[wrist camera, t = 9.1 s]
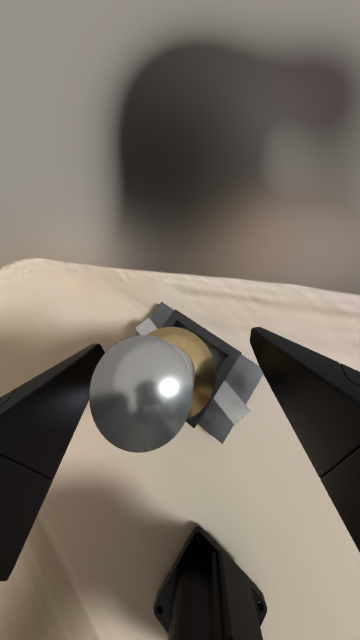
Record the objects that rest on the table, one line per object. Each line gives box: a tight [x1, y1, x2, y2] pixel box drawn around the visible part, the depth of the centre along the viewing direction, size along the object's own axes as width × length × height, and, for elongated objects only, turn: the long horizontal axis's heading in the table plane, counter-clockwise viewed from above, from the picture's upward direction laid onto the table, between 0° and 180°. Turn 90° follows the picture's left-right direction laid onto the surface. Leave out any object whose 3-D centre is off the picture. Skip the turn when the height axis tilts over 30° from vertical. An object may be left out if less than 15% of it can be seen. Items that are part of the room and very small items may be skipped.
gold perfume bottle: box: [89, 327, 215, 453], centre depth 9 cm, size 4×4×12 cm
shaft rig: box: [136, 302, 263, 444], centre depth 14 cm, size 8×14×4 cm, turn 54°
